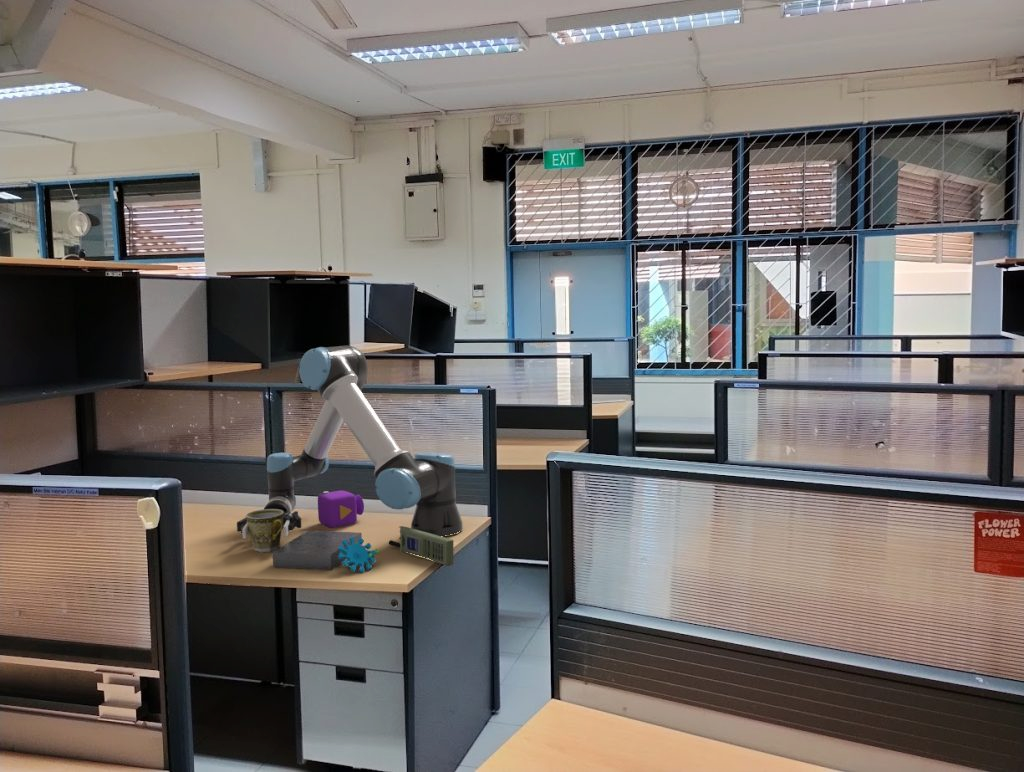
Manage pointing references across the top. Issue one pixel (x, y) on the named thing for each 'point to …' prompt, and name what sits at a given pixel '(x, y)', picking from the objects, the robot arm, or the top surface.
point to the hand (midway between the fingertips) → (264, 532)
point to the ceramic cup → (265, 529)
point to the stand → (313, 550)
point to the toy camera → (339, 508)
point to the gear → (357, 554)
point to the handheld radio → (425, 545)
